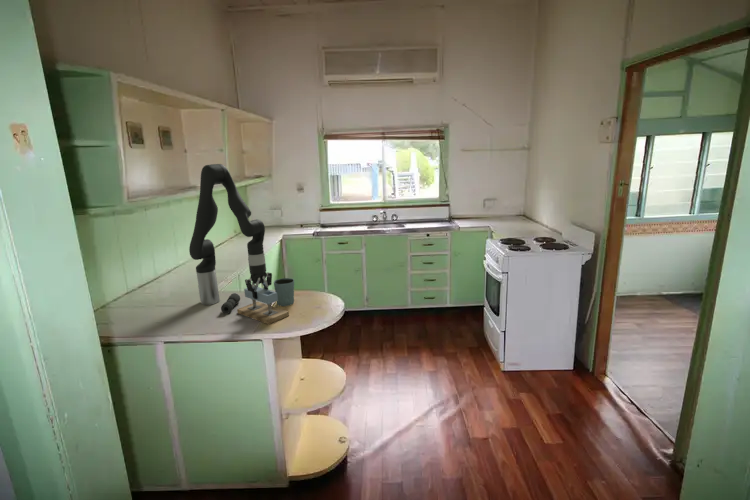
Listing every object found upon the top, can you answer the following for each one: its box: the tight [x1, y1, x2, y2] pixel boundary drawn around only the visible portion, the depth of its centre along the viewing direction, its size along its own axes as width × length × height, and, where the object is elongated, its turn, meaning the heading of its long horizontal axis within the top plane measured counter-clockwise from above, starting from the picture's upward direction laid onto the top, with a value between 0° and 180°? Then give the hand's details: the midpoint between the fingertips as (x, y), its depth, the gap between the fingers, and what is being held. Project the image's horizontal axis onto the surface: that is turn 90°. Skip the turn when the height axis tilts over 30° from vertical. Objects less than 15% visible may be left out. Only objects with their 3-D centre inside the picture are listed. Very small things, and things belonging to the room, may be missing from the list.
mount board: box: [236, 299, 290, 325], centre depth 195 cm, size 24×12×7 cm, turn 52°
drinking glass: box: [273, 277, 295, 307], centre depth 208 cm, size 10×10×12 cm
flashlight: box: [220, 292, 241, 314], centre depth 205 cm, size 15×5×5 cm, turn 2°
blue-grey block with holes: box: [244, 286, 278, 304], centre depth 194 cm, size 18×6×4 cm, turn 52°
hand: (260, 296), depth 194 cm, fingers closed on blue-grey block with holes, 5 cm apart
